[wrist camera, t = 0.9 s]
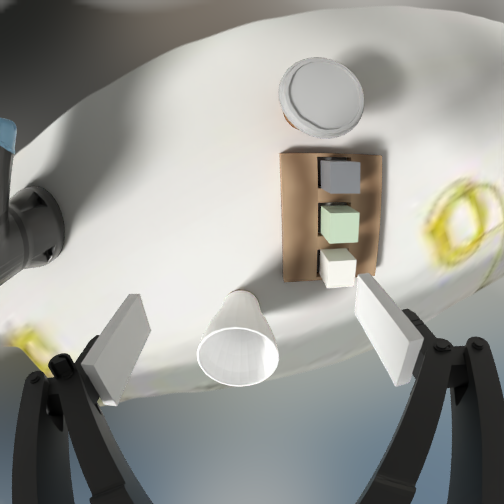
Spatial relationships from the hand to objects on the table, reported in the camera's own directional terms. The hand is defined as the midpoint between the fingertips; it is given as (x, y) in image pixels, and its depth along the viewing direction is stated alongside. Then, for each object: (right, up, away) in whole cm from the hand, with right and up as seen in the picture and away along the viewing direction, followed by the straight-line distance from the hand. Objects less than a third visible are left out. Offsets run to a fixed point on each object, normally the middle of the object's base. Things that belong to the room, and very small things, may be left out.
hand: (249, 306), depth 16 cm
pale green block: (+12, +8, +23) cm, 27 cm away
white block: (+12, +2, +26) cm, 29 cm away
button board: (+12, +9, +25) cm, 29 cm away
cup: (-2, -6, +30) cm, 31 cm away
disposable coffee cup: (+8, +23, +20) cm, 32 cm away
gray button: (+12, +14, +21) cm, 28 cm away
